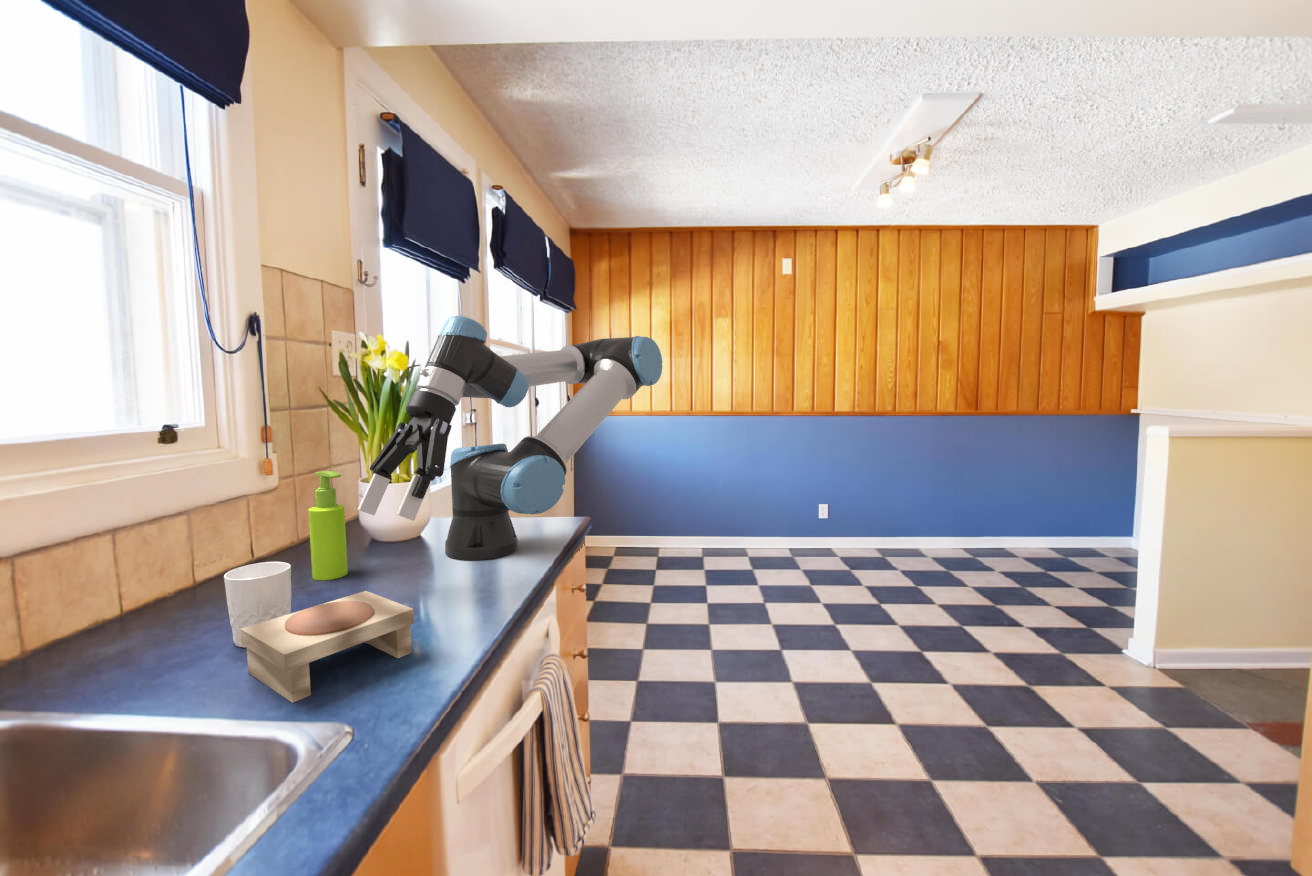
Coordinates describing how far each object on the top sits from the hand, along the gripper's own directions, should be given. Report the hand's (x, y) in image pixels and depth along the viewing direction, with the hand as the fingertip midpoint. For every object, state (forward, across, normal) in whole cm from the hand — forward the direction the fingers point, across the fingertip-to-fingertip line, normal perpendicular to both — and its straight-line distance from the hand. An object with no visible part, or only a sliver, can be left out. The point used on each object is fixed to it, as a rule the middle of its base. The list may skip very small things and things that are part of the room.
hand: (384, 515), depth 93 cm
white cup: (+22, -4, -7) cm, 23 cm away
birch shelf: (+21, +11, -4) cm, 24 cm away
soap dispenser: (+11, -25, +7) cm, 28 cm away
